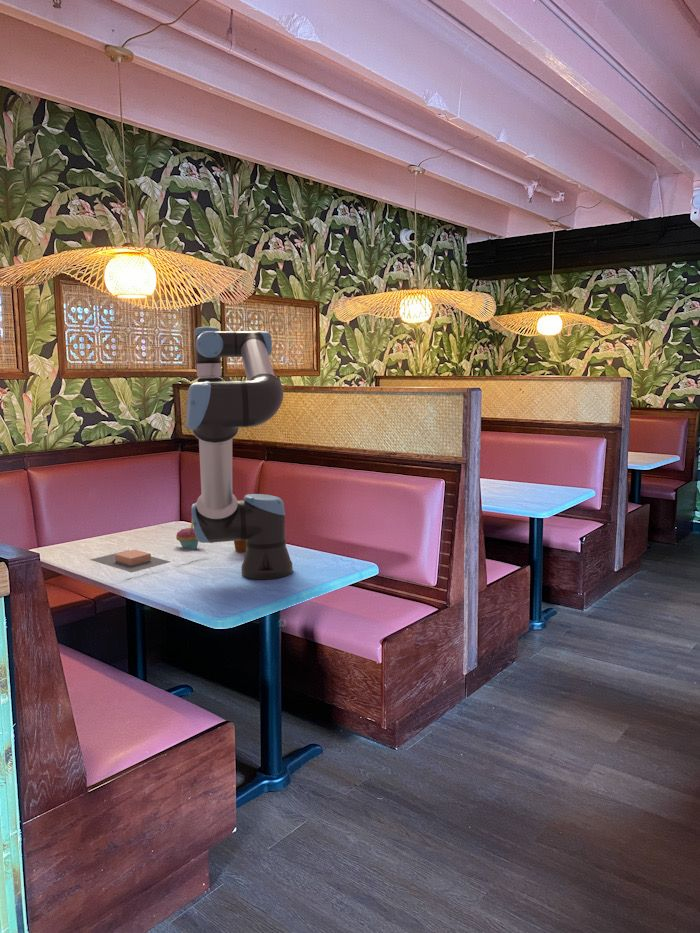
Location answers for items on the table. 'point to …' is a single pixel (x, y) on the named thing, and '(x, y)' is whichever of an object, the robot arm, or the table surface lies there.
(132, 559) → the tile
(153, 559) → the mat
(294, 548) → the table surface
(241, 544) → the disposable coffee cup
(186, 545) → the cupcake
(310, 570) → the table surface
